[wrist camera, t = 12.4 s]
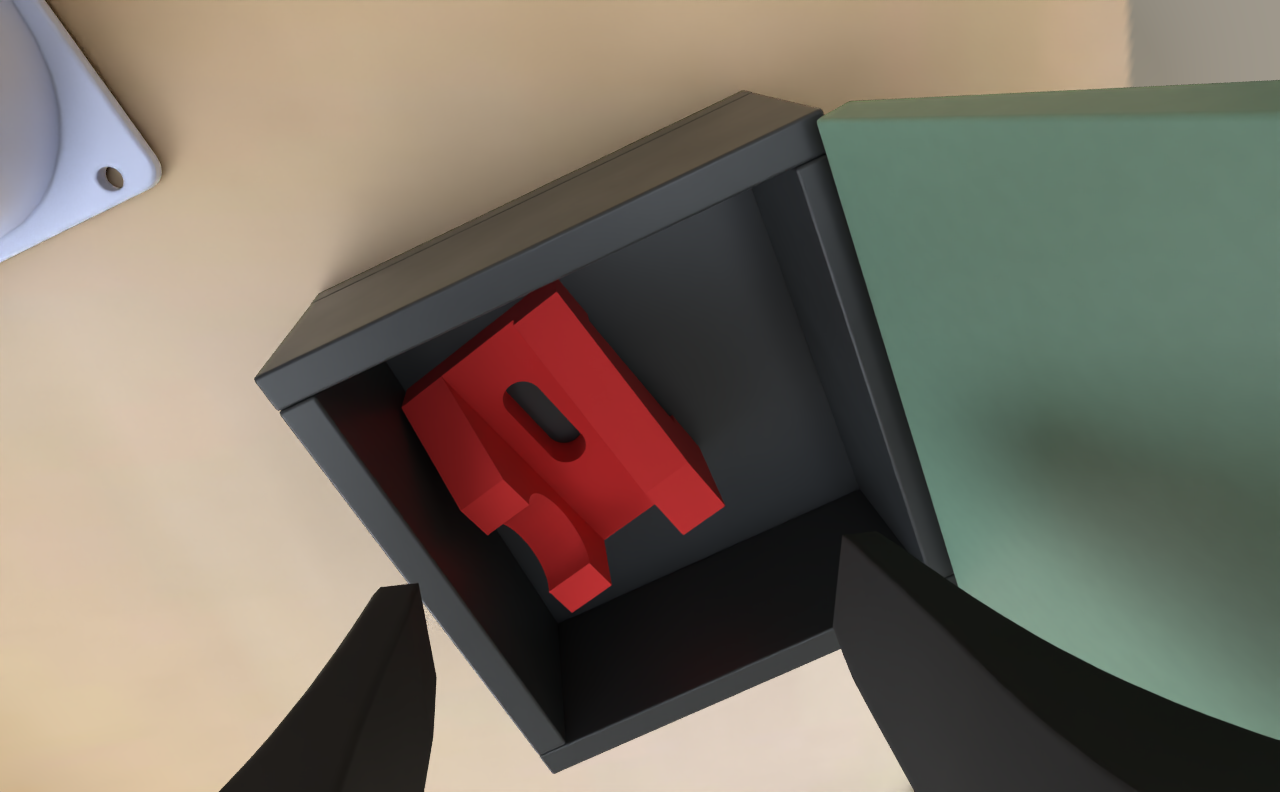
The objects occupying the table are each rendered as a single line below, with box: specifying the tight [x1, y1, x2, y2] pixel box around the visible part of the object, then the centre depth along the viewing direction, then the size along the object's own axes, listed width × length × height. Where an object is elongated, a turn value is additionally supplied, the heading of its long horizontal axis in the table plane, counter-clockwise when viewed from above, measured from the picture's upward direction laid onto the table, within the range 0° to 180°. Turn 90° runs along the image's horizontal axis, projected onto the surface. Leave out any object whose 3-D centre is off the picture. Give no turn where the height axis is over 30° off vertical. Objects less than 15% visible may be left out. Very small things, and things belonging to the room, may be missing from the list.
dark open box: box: [254, 90, 958, 774], centre depth 19 cm, size 12×13×5 cm
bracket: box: [401, 280, 725, 613], centre depth 19 cm, size 6×5×3 cm
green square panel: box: [817, 80, 1280, 740], centre depth 11 cm, size 12×13×1 cm
